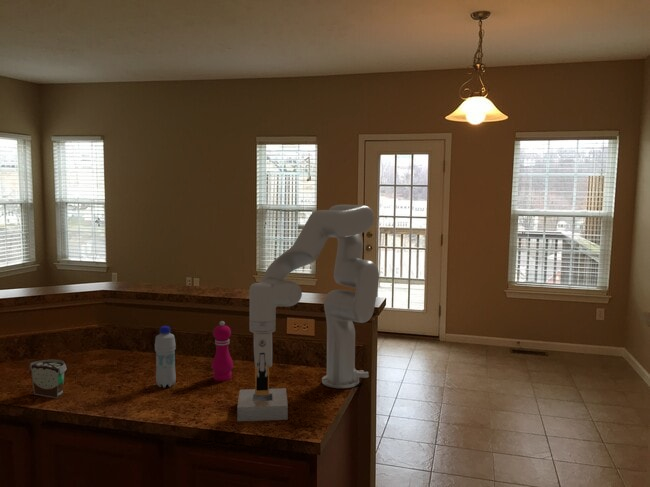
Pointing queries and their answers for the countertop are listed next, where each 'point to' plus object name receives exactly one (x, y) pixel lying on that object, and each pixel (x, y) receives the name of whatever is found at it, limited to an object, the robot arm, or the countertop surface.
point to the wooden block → (263, 392)
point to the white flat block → (262, 405)
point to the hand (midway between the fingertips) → (262, 386)
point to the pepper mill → (222, 353)
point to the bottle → (165, 357)
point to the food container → (48, 377)
